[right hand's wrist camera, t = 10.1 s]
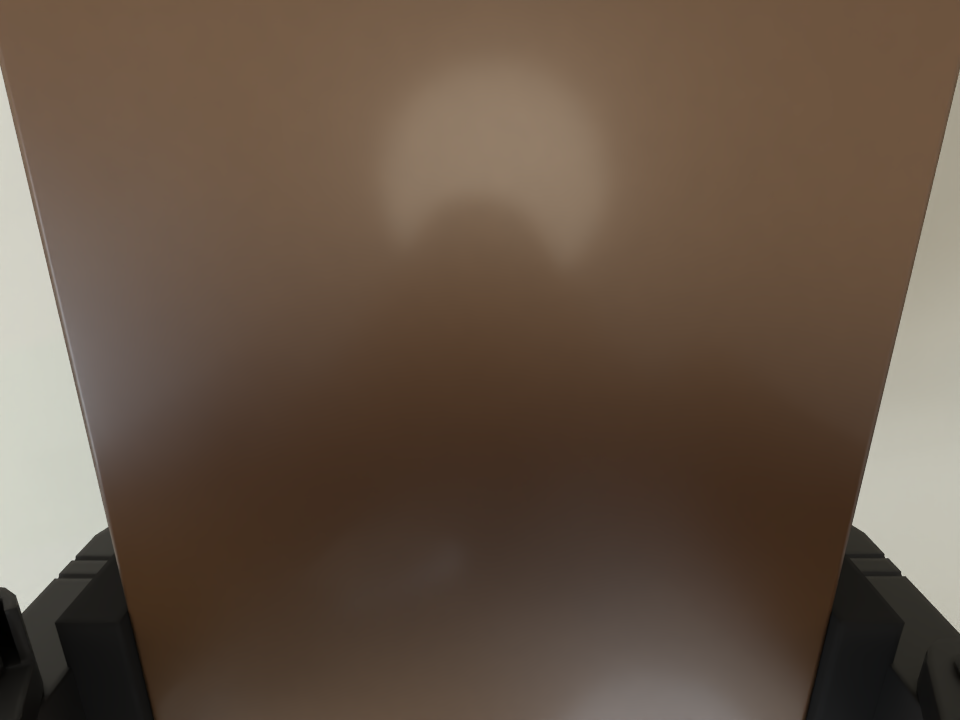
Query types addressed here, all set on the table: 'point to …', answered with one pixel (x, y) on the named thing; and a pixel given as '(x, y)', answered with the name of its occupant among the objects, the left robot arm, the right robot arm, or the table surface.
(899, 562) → the table surface
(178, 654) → the slab
